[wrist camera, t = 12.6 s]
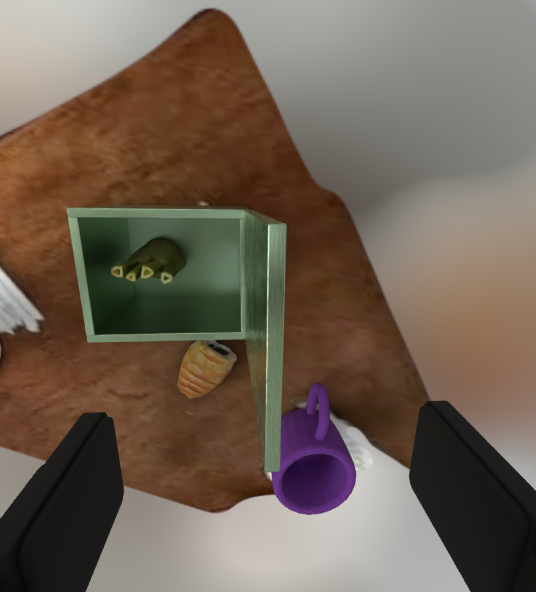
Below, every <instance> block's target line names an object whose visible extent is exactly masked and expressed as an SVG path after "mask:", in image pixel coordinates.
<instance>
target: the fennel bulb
mask: <svg viewBox="0 0 536 592" xmlns="http://www.w3.org/2000/svg"><path fill="white" fill-rule="evenodd" d="M186 263H187V262H186V260H185V257H184V256H183V254H182V253H181V251H180V250H179V249H178V247H177V246H176V245H175V244H174V243H173V242H171V241H170V240H168V239H165V238H153V239H151V240H150V241H148V242H147V243H146V244H145V245H144V246H142V247H141V248H139V249H138V250H137V251H135V252H134V253H133V254H131V256H130V257H129V259H128V260H127V261H126V262H123V263H121V264H118V265H115V266H114V267H112V268H111V269H110V270H111V274H112V275H113V276H115V277H118V278H124V277H126V279H127V280H129V281H131V282H135V281H136V280H137V279H139V278H140V277H141V278H144V279H147V278H149V277H154V278H157V279H161V283H163V284H168V283H170V282H171V281H172V280H173V279H174V277H175V275H176V274H177V273H179V272H180V271H181V270H182V269H184V268H185V266H186Z"/></svg>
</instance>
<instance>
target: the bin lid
mask: <svg viewBox="0 0 536 592" xmlns="http://www.w3.org/2000/svg"><path fill="white" fill-rule="evenodd" d="M244 233H245V343H246V349H247V356H248V363H249V369H250V376H251V383H252V390H253V396H254V403H255V410H256V416H257V423H258V430H259V437H260V443H261V450H262V457H263V463H264V470H265V472H276V471H279V470H280V445H281V410H282V375H283V340H284V305H285V269H286V234H287V225H286V224H284V223H282V222H280V221H277V220H275V219H273V218H270V217H268V216H266V215H263V214H261V213H258V212H256V211H254V210H244Z"/></svg>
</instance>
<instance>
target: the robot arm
mask: <svg viewBox="0 0 536 592" xmlns="http://www.w3.org/2000/svg"><path fill="white" fill-rule="evenodd" d="M0 358H1V344H0ZM409 479H410V484H411V487H412V489H413V491H414V493H415V494H416V496H417V498H418V500H419V501H420V503H421V505H422V507H423V508H424V510H425V512H426V514H427V516H428V517H429V519H430V521H431V522H432V524H433V526H434V528H435V530H436V531H437V533H438V535H439V537H440V538H441V540H442V542H443V544H444V546H445V547H446V549H447V551H448V553H449V554H450V556H451V558H452V560H453V561H454V563H455V565H456V567H457V569H458V570H459V572H460V574H461V575H462V577H463V579H464V581H465V583H466V584H467V586H468V588H469V590H470V591H471V592H536V491H535V490H534V489H533V487H531V485H530V484H529V483H528V482H527V481H526V480H525V479H524V478H523V477H522V476H521V475H520V474H519V473H518V472H517V471H516V470H515V469H514V468H513V467H512V466H511V465H510V464H509V463H508V462H507V461H506V460H505V459H504V458H503V457H502V456H501V455H500V454H499V453H498V452H497V451H496V450H495V449H494V448H493V447H492V446H491V445H490V444H489V443H488V442H487V441H486V440H485V439H484V438H483V437H482V435H481V434H479V432H478V431H477V430H475V428H474V427H473V426H472V425H471V424H470V423H469V422H467V420H466V419H465V418H464V417H463V416H462V415H461V414H460V413H459V412H458V411H457V410H456V409H455V408H454V407H453V406H452V405H451V404H450V403H449V402H448V401H428V402H426V403H425V405H424V406H422V407H421V408H420V410H419V416H418V423H417V429H416V435H415V441H414V448H413V454H412V460H411V466H410V473H409ZM123 494H124V487H123V480H122V474H121V467H120V461H119V454H118V448H117V441H116V435H115V428H114V422H113V419H112V418H111V417H107V414H106V413H105V412H97V413H84V414H82V415H81V416H80V418H79V419H78V420H77V422H76V423H75V424H74V426H73V427H72V428H71V430H70V431H69V432H68V434H67V435H66V436H65V438H64V439H63V440H62V442H61V443H60V444H59V445H58V447H57V448H56V449H55V451H54V452H53V453H52V455H51V456H50V457H49V459H48V460H47V461H46V463H45V464H44V465H42V466H41V467H40V468H39V469H38V470H37V471H36V473H35V474H34V475H33V477H32V478H31V479H30V481H29V482H28V483H27V484H26V486H25V487H24V488H23V490H22V491H21V492H20V494H19V495H18V496H17V498H16V499H15V500H14V501H13V503H12V504H11V506H10V507H9V508H8V509H7V511H6V512H5V513H4V515H3V516H2V517H1V518H0V592H86V590H87V587H88V585H89V582H90V580H91V577H92V575H93V572H94V570H95V567H96V565H97V562H98V560H99V558H100V555H101V553H102V550H103V548H104V545H105V543H106V540H107V538H108V535H109V533H110V530H111V528H112V526H113V523H114V520H115V518H116V515H117V513H118V511H119V508H120V506H121V503H122V500H123Z"/></svg>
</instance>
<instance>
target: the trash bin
mask: <svg viewBox="0 0 536 592" xmlns="http://www.w3.org/2000/svg"><path fill="white" fill-rule="evenodd" d="M244 210H248V208H247V207H246V206H196V205H107V206H89V207H71V208H67V213H68V220H69V227H70V233H71V240H72V246H73V253H74V259H75V265H76V272H77V278H78V285H79V291H80V298H81V304H82V311H83V317H84V324H85V330H86V335H87V342H88V343H90V342H138V341H186V340H234V339H245V233H244ZM153 238H165V239H168V240H170V241H171V242H173V243H174V244H175V245H176V246H177V247H178V249H179V250H180V251H181V253H182V254H183V256H184V257H185V260H186V262H187V263H186V266H185V268H184V269H182V270H181V271H180V272H179V273H177V274H176V275H175V277H174V279H173V280H172V281H171V282H170V283H168V284H163V283H161V279H157V278H154V277H149V278H147V279H144V278H141V277H140V278H139V279H137V280H136V281H135V282H131V281H129V280H127V279H126V277H124V278H118V277H115V276H113V275H112V274H111V270H110V269H111V268H112V267H114V266H115V265H118V264H121V263H123V262H126V261H127V260H128V259H129V257H130V256H131V254H133V253H134V252H135V251H137V250H138V249H139V248H141V247H142V246H144V245H145V244H146V243H147V242H148V241H150V240H151V239H153Z"/></svg>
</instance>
